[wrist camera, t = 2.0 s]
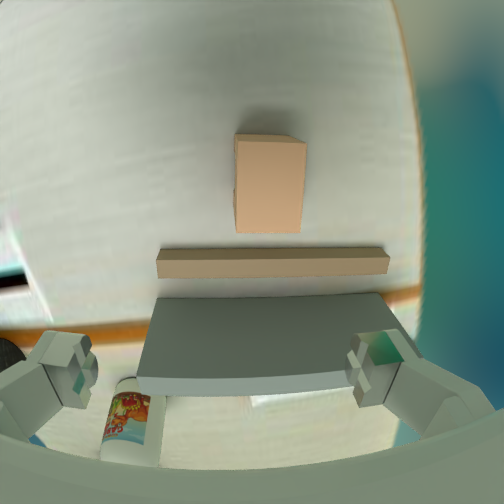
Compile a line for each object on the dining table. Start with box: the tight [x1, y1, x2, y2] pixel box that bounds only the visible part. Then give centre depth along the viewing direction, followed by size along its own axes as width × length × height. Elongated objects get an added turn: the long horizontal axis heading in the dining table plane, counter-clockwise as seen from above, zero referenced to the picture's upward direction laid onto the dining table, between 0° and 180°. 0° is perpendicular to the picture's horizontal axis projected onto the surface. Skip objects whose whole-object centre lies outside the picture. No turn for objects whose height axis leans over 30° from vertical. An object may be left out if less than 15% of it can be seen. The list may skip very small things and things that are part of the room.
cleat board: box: [136, 248, 423, 397], centre depth 30 cm, size 8×26×12 cm, turn 88°
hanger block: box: [233, 134, 307, 233], centre depth 27 cm, size 7×5×7 cm
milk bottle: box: [100, 378, 166, 468], centre depth 33 cm, size 8×8×20 cm
